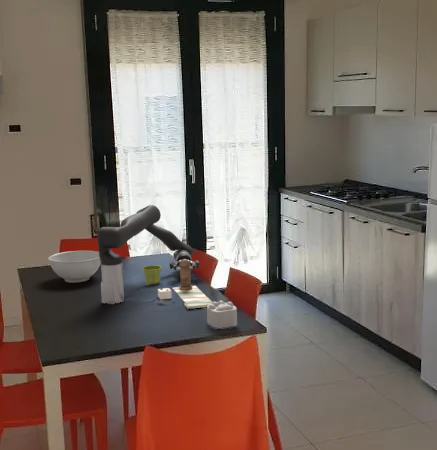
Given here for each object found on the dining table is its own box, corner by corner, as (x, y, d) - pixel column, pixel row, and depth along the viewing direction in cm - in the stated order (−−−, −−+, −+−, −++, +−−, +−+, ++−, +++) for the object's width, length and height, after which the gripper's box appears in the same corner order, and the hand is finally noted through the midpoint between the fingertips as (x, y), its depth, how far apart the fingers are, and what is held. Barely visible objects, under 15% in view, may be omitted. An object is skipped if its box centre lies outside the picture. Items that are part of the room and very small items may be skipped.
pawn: (188, 290, 295) (187, 260, 293) (177, 289, 298) (175, 259, 295) (194, 287, 300) (193, 258, 298) (183, 286, 303) (182, 257, 301)
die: (171, 301, 284) (171, 289, 283) (160, 303, 283) (159, 290, 282) (169, 298, 289) (168, 286, 288) (158, 299, 288) (157, 288, 287)
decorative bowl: (112, 274, 337) (111, 251, 335) (90, 287, 311) (88, 263, 309) (65, 272, 343) (64, 249, 341) (39, 285, 318) (38, 261, 316)
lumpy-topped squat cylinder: (215, 331, 244) (214, 309, 243) (202, 321, 256) (201, 300, 255) (240, 327, 248) (239, 305, 247) (226, 317, 260) (225, 296, 259)
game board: (215, 307, 274) (215, 303, 274) (187, 310, 271) (187, 306, 271) (196, 288, 305) (196, 285, 304) (171, 290, 301) (171, 287, 301)
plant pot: (141, 287, 308) (140, 270, 307) (144, 282, 318) (143, 265, 316) (161, 287, 308) (160, 269, 306) (163, 282, 317) (162, 265, 316)
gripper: (169, 253, 322) (169, 260, 306) (197, 252, 323) (199, 259, 307) (169, 268, 324) (170, 276, 308) (198, 267, 325) (199, 275, 309)
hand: (184, 267), depth 308 cm, fingers open, 8 cm apart
